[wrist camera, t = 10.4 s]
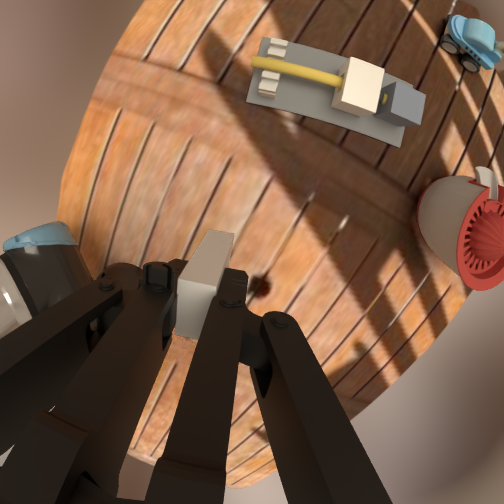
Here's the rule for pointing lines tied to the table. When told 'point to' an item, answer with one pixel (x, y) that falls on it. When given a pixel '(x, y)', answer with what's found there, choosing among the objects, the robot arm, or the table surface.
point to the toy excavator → (472, 42)
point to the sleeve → (358, 87)
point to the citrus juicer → (466, 226)
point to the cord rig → (328, 90)
